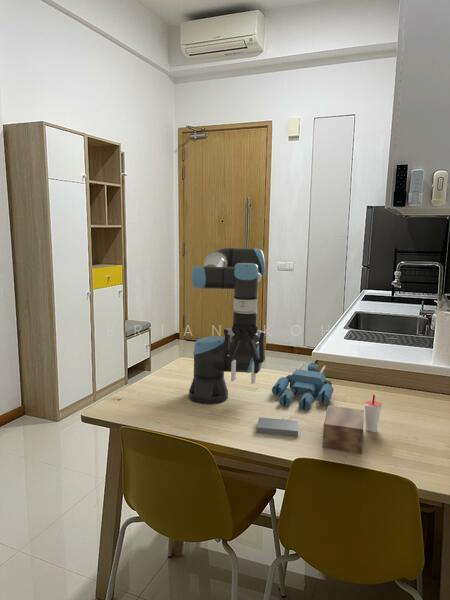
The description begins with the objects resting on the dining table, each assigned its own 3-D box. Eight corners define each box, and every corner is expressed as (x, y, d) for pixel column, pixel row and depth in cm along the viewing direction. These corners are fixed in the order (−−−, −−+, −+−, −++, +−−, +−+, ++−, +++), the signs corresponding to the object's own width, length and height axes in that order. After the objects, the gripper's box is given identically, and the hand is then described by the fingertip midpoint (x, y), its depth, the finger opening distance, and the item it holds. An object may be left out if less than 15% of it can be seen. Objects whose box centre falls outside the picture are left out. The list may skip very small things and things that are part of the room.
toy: (265, 387, 168) (288, 357, 194) (266, 408, 171) (288, 376, 196) (325, 397, 159) (340, 364, 185) (324, 419, 162) (340, 384, 187)
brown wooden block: (322, 447, 135) (323, 423, 134) (327, 427, 149) (328, 405, 148) (361, 453, 131) (363, 429, 130) (362, 432, 146) (363, 410, 145)
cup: (376, 426, 151) (378, 391, 149) (382, 433, 145) (385, 397, 144) (360, 426, 150) (362, 391, 149) (366, 433, 145) (368, 397, 143)
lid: (256, 434, 144) (256, 427, 143) (258, 424, 151) (259, 417, 151) (297, 438, 142) (298, 431, 141) (298, 427, 149) (298, 420, 149)
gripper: (213, 311, 144) (212, 381, 147) (272, 315, 138) (269, 388, 141) (220, 307, 151) (219, 374, 154) (276, 311, 145) (274, 381, 149)
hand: (243, 381), depth 148 cm, fingers open, 6 cm apart
